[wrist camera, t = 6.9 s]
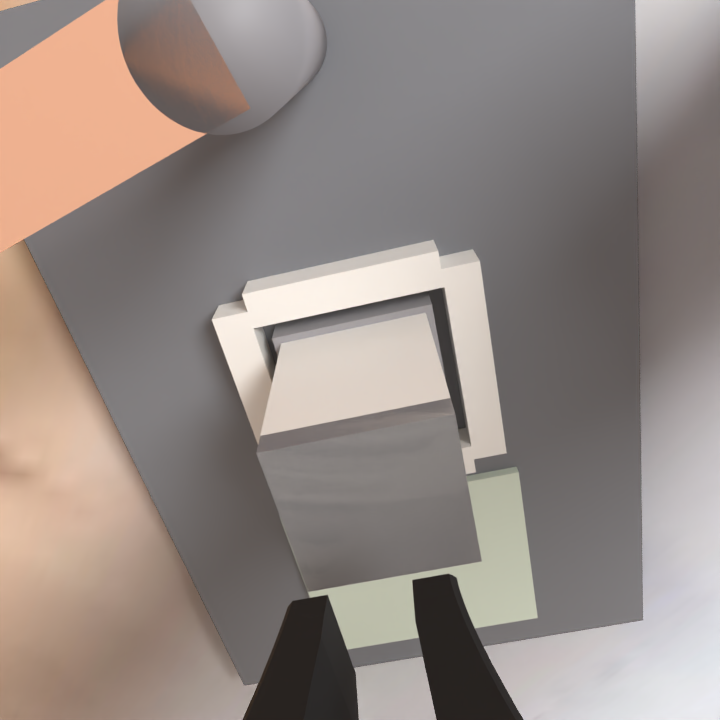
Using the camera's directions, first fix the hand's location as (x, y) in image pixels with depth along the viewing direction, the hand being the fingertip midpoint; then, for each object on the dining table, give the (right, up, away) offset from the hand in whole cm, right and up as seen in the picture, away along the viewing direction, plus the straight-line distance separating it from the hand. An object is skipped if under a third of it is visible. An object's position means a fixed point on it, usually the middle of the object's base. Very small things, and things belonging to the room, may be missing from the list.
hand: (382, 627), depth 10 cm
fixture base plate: (0, +5, +9) cm, 10 cm away
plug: (0, +4, +8) cm, 9 cm away
